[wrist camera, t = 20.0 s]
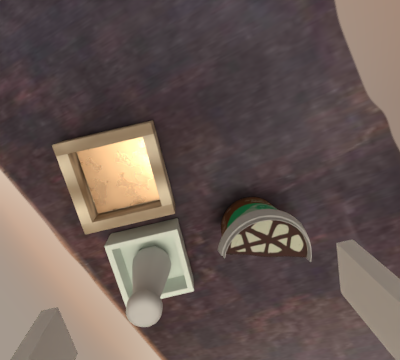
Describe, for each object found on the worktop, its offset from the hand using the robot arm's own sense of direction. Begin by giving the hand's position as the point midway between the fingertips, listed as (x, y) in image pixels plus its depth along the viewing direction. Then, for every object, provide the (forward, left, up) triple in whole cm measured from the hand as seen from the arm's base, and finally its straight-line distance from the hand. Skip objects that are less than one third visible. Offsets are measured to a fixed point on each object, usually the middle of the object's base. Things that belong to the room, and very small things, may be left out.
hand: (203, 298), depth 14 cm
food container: (+10, +8, -31) cm, 33 cm away
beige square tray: (0, -10, -31) cm, 32 cm away
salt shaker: (+14, -9, -30) cm, 34 cm away
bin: (+14, -9, -31) cm, 35 cm away
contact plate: (0, -10, -30) cm, 32 cm away
